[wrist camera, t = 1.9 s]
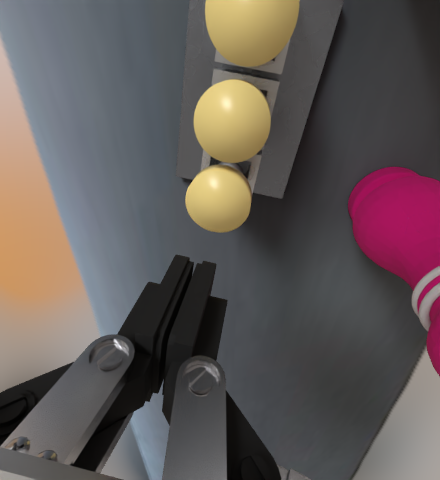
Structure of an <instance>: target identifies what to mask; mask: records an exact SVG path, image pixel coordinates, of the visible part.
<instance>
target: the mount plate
mask: <svg viewBox="0 0 440 480" xmlns="http://www.w3.org/2000/svg"><path fill="white" fill-rule="evenodd" d="M343 2H344V1H343V0H299V14H298V19H297V23H296V26H295V29H294V31H293V34H292V36H291V38H290V39H289V41H288V43H287V44H286V46H285V47H284V48H283V50H282V51H281V52H280V53H279V54H278V55H277V56H276V57H275V58H273V59H272V60H270V61H269V62H267V63H265V64H262V65H259V66H254V67H245V66H239V65H236V64H234V63H231V62H230V61H228V60H227V59H225V58H224V57H223V56H222V55H221V54H220V53H219V52H218V51H217V49H216V48H215V46H214V45H213V43H212V41H211V38H210V36H209V33H208V30H207V26H206V19H205V3H206V0H190V2H189V15H188V28H187V41H186V54H185V66H184V79H183V92H182V105H181V118H180V131H179V143H178V156H177V169H176V176H177V177H182V178H187V179H191V180H194V178H195V177H196V175H197V174H198V173H199V172H200V171H201V170H203V169H204V168H206V167H209V166H212V165H218V164H219V163H220V162H222V161H219V160H217V159H215V158H213V157H212V156H210V155H209V154H208V153H207V152H206V151H205V150H204V149H203V148H202V147H201V145H200V143H199V142H198V139H197V137H196V134H195V130H194V113H195V109H196V106H197V104H198V101H199V100H200V98H201V96H202V95H203V94H204V93H205V92H206V91H207V90H208V89H209V88H210V87H212V86H213V85H215V84H217V83H219V82H222V81H225V80H229V79H242V80H245V81H248V82H250V83H252V84H253V85H255V86H256V87H257V88H259V89H260V91H261V92H262V93H263V94H264V96H265V97H266V100H267V102H268V104H269V108H270V115H271V124H270V132H269V135H268V138H267V140H266V142H265V144H264V146H263V147H262V148H261V150H260V151H259V152H258V153H257V154H256V155H254V156H253V157H251V158H250V159H248V160H245V161H242V162H238V164H239V165H240V166H241V168H242V170H243V175H244V176H245V177H246V178H247V180H248V182H249V184H250V186H251V190H252V194H253V193H257V194H262V195H266V196H271V197H276V198H280V199H282V198H283V195H284V191H285V188H286V185H287V182H288V179H289V175H290V172H291V169H292V166H293V162H294V159H295V156H296V153H297V150H298V146H299V143H300V140H301V137H302V134H303V130H304V127H305V124H306V121H307V118H308V114H309V111H310V108H311V105H312V102H313V98H314V95H315V92H316V89H317V86H318V82H319V79H320V76H321V73H322V69H323V66H324V63H325V60H326V57H327V53H328V50H329V47H330V44H331V41H332V37H333V34H334V31H335V28H336V25H337V21H338V18H339V15H340V12H341V9H342V5H343Z"/></svg>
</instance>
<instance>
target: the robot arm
mask: <svg viewBox="0 0 440 480" xmlns="http://www.w3.org/2000/svg"><path fill="white" fill-rule="evenodd" d="M189 260H190V259H189V257H185V256H180V255H175V257H174V259H173V261H172V263H171V265H170V266H169V268H168V270H167V272H166V274H165V276H164V278H163V280H162V282H161V284H157V283H153V282H148V283H147V285H146V286H145V288H144V290H143V291H142V293H141V295H140V297H139V298H138V300H137V302H136V303H135V305H134V307H133V308H132V310H131V312H130V314H129V315H128V317H127V319H126V320H125V322H124V324H123V325H122V327H121V329H120V331H119V332H118V334H117V335H106V336H103V337H100V338H98V339H97V340H95V341H94V342H92V343H91V344H90V345H89V346H88V347H87V348H86V349H85V351H84V352H83V353H82V354H81V355H80V356H79V357H78V359H77V360H76V361H75V362H72V363H70V364H67V365H65V366H63V367H60V368H58V369H55V370H53V371H50V372H48V373H46V374H43V375H41V376H38V377H36V378H34V379H31V380H29V381H26V382H24V383H21V384H19V385H17V386H14V387H12V388H9V389H7V390H5V391H3V392H1V393H0V480H122V479H118V478H115V477H111V476H107V475H103V474H100V473H101V471H102V469H103V467H104V466H105V464H106V462H107V460H108V458H109V457H110V455H111V453H112V451H113V449H114V448H115V446H116V444H117V442H118V440H119V439H120V437H121V435H122V434H123V432H124V430H125V428H126V426H127V425H128V423H129V421H130V419H131V417H132V415H133V412H134V411H136V410H137V409H139V408H141V407H143V406H144V403H145V401H148V402H150V399H151V396H152V394H153V393H157V394H158V393H159V390H160V387H161V385H162V382H163V379H164V383H163V393H162V395H164V398H163V408H162V412H163V414H164V416H165V418H166V420H167V422H168V424H169V426H170V428H169V435H168V442H167V449H166V456H165V463H164V469H163V476H162V480H311V479H309V478H307V477H305V476H304V475H302V474H300V473H298V472H296V471H295V470H293V469H291V468H290V470H289V471H288V470H286V469H285V468H283V467H281V466H279V465H277V464H276V462H275V460H274V458H273V457H272V455H271V454H270V453H269V451H268V450H267V448H266V447H265V445H264V444H263V443H262V441H261V440H260V438H259V437H258V435H257V434H256V432H255V431H254V430H253V428H252V427H251V425H250V424H249V422H248V421H247V420H246V418H245V417H244V415H243V414H242V412H241V411H240V410H239V408H238V407H237V405H236V404H235V402H234V401H233V399H232V398H231V397H230V395H229V394H228V392H227V391H226V378H225V373H224V371H223V369H222V367H221V365H220V364H219V363H218V362H217V361H216V359H217V354H218V349H219V343H220V338H221V333H222V327H223V322H224V317H225V311H226V306H227V300H225V299H221V298H217V297H212V296H210V295H211V290H212V285H213V279H214V274H215V269H216V264H215V263H211V262H207V261H203V263H202V264H199V263H197V265H196V268H195V271H194V273H193V276H192V272H193V265H194V262H191V261H189Z"/></svg>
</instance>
